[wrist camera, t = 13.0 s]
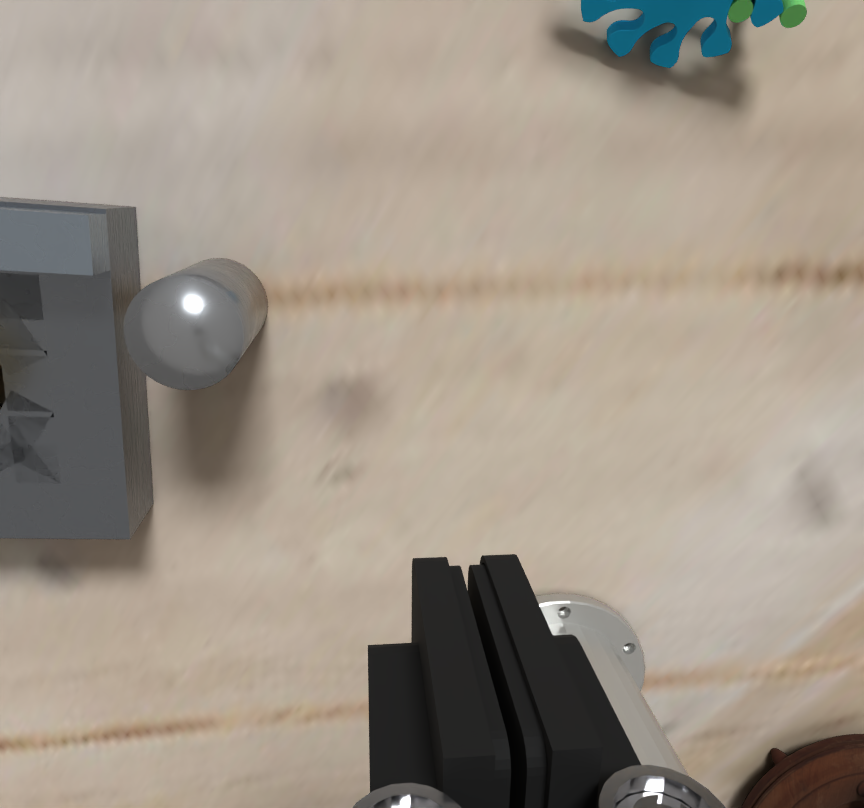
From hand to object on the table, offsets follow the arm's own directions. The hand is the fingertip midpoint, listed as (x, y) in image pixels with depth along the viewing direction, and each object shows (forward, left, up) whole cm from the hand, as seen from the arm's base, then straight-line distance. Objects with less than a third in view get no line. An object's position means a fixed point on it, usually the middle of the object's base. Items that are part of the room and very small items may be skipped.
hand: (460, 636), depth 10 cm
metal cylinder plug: (+1, +9, -26) cm, 27 cm away
